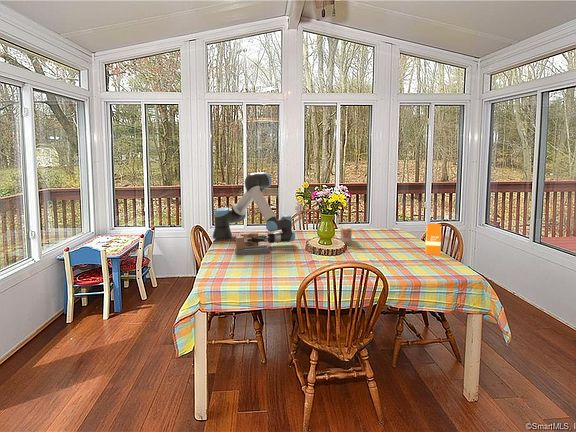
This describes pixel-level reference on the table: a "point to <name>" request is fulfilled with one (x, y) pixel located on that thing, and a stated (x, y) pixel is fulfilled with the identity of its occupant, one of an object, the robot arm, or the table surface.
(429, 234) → the orange juice
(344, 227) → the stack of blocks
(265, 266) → the table surface
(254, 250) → the base rail
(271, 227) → the robot arm
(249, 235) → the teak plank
